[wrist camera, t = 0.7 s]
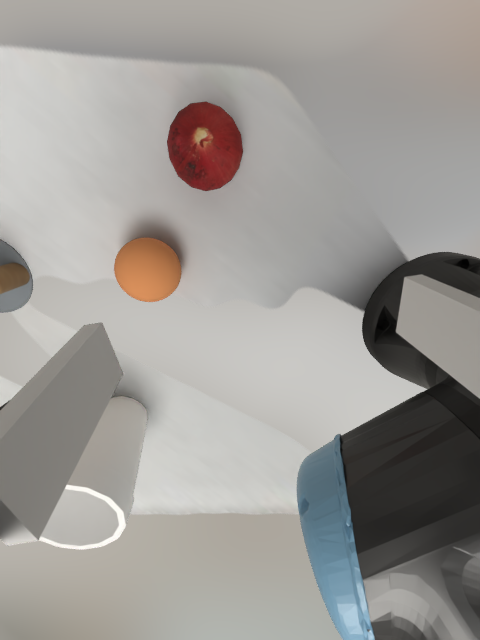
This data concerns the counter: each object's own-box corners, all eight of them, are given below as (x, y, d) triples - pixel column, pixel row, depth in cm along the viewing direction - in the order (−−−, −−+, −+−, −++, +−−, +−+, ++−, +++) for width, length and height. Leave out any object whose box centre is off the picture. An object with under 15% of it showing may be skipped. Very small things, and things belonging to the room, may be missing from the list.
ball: (197, 264, 28) (189, 278, 23) (160, 301, 30) (145, 323, 24) (152, 221, 26) (132, 225, 21) (115, 263, 28) (88, 277, 22)
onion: (215, 205, 26) (210, 205, 19) (164, 163, 24) (137, 145, 17) (252, 151, 24) (263, 127, 17) (200, 102, 23) (187, 53, 15)
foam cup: (147, 381, 34) (104, 477, 22) (167, 434, 37) (139, 541, 26) (76, 393, 34) (-6, 494, 22) (102, 444, 38) (44, 555, 26)
